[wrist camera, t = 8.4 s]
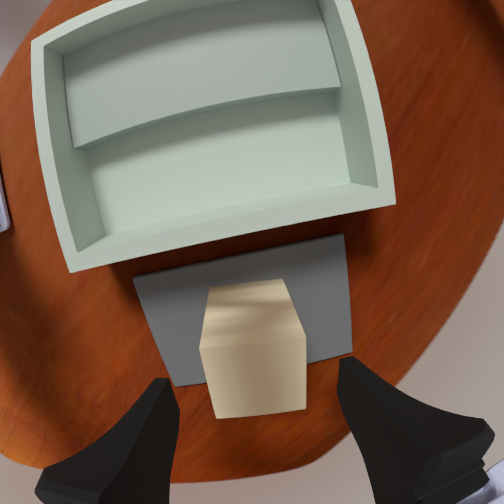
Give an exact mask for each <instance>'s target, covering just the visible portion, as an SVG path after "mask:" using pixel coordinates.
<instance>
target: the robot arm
mask: <svg viewBox="0 0 504 504" xmlns="http://www.w3.org/2000/svg"><path fill="white" fill-rule="evenodd" d="M0 225H1V227H0V232H3V231H5V230H7V229H9V227H10V219H9V215H8V211H7V206H6V202H5V197H4V192H3V187H2V182H1V176H0ZM337 395H338V399H339V402H340V405H341V409H342V412H343V414H344V416H345V418H346V421H347V423H348V425H349V427H350V429H351V431H352V434H353V436H354V438H355V440H356V442H357V444H358V446H359V449H360V451H361V453H362V456H363V459H364V462H365V465H366V469H367V472H368V476H369V479H370V483H371V486H372V490H373V494H374V499H375V503H376V504H504V459H502V460H501V461H499V462H498V463H496V464H495V465H493V466H492V467H491V468H490V469H488V470H487V471H486V472H485V471H484V469H483V468H482V467H484V465H485V463H484V461H483V460H482V457H483V456H484V454H485V453H486V451H487V450H488V449H489V447H490V445H491V443H492V442H493V440H494V436H495V433H494V431H493V430H492V429H491V428H490V426H489V425H488V424H487V423H486V421H485V420H484V419H481V418H474V417H468V416H462V415H458V414H454V413H450V412H447V411H444V410H440V409H437V408H435V407H432V406H429V405H427V404H425V403H423V402H420V401H418V400H416V399H414V398H412V397H410V396H408V395H407V394H405V393H403V392H401V391H400V390H398V389H397V388H395V387H393V386H392V385H390V384H389V383H387V382H386V381H385V380H383V379H382V378H381V377H379V376H378V375H377V374H375V373H374V372H373V371H371V370H370V369H369V368H368V367H366V366H365V365H364V364H363V363H361V362H360V361H359V360H357V359H356V358H355V357H354V356H351V357H346V358H341V359H340V362H339V375H338V386H337ZM179 418H180V409H179V407H178V404H177V401H176V398H175V395H174V392H173V389H172V386H171V383H170V380H169V378H155V379H154V380H153V381H152V383H151V384H150V385H149V386H148V388H147V389H146V390H145V391H144V393H143V394H142V395H141V396H140V398H139V399H138V400H137V401H136V402H135V404H134V405H133V406H132V407H131V408H130V409H129V411H128V412H127V413H126V414H125V415H124V416H123V417H122V418H121V419H120V420H119V421H118V422H117V423H116V424H115V425H114V426H113V427H112V428H111V429H110V430H109V431H108V432H106V433H105V434H104V435H103V436H102V437H100V438H99V439H98V440H96V441H95V442H93V443H92V444H91V445H89V446H88V447H86V448H85V449H83V450H82V451H80V452H78V453H77V454H75V455H73V456H71V457H69V458H67V459H65V460H63V461H61V462H58V463H56V464H54V465H51V466H49V467H46V468H44V470H43V472H42V474H41V477H40V479H39V481H38V484H37V486H36V488H35V494H36V496H37V497H38V498H39V499H40V500H41V501H42V502H43V503H44V504H169V491H170V475H171V469H172V463H173V458H174V453H175V448H176V442H177V437H178V432H179Z"/></svg>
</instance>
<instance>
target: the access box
mask: <svg viewBox="0 0 504 504" xmlns="http://www.w3.org/2000/svg"><path fill="white" fill-rule="evenodd" d="M31 77H32V96H33V109H34V119H35V127H36V135H37V142H38V149H39V155H40V161H41V167H42V172H43V177H44V182H45V187H46V191H47V196H48V200H49V204H50V208H51V212H52V216H53V220H54V223H55V227H56V231H57V234H58V238H59V241H60V244H61V247H62V251H63V254H64V257H65V260H66V263H67V266H68V269H69V272H70V273H72V272H76V271H80V270H85V269H89V268H93V267H97V266H102V265H106V264H110V263H114V262H119V261H123V260H127V259H132V258H136V257H141V256H145V255H149V254H154V253H158V252H163V251H167V250H172V249H176V248H181V247H185V246H190V245H195V244H199V243H204V242H208V241H213V240H218V239H222V238H227V237H232V236H237V235H241V234H246V233H251V232H256V231H261V230H265V229H270V228H275V227H280V226H285V225H290V224H295V223H300V222H305V221H310V220H315V219H320V218H325V217H330V216H335V215H341V214H346V213H351V212H356V211H361V210H367V209H372V208H377V207H383V206H388V205H394V204H396V199H395V189H394V181H393V173H392V165H391V158H390V152H389V145H388V139H387V134H386V128H385V123H384V118H383V113H382V108H381V103H380V99H379V94H378V90H377V86H376V82H375V78H374V74H373V70H372V66H371V62H370V59H369V55H368V52H367V48H366V45H365V42H364V39H363V35H362V32H361V29H360V26H359V23H358V20H357V17H356V14H355V12H354V9H353V6H352V3H351V1H350V0H113V1H110V2H108V3H105V4H103V5H100V6H98V7H96V8H93V9H91V10H89V11H87V12H85V13H82V14H80V15H78V16H76V17H74V18H72V19H70V20H68V21H66V22H64V23H62V24H60V25H59V26H57V27H55V28H53V29H51V30H49V31H48V32H46V33H44V34H42V35H41V36H39V37H37V38H36V39H34V40H32V41H31Z"/></svg>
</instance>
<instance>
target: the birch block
mask: <svg viewBox="0 0 504 504" xmlns="http://www.w3.org/2000/svg"><path fill="white" fill-rule="evenodd" d="M199 350H200V355H201V359H202V363H203V368H204V372H205V376H206V380H207V384H208V388H209V392H210V396H211V400H212V404H213V408H214V412H215V415H216V419H219V418H234V417H246V416H256V415H265V414H273V413H281V412H288V411H295V410H301V409H306V335H305V333H304V330H303V328H302V325H301V323H300V320H299V318H298V315H297V313H296V310H295V308H294V305H293V303H292V300H291V298H290V295H289V293H288V290H287V288H286V286H285V283H284V281H283V278H282V279H273V280H265V281H256V282H247V283H237V284H228V285H218V286H210V288H209V294H208V300H207V305H206V311H205V317H204V322H203V328H202V334H201V340H200V346H199Z"/></svg>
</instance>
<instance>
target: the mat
mask: <svg viewBox="0 0 504 504" xmlns="http://www.w3.org/2000/svg"><path fill="white" fill-rule="evenodd" d="M282 278H283V281H284V283H285V286H286V288H287V290H288V293H289V295H290V298H291V300H292V303H293V305H294V308H295V310H296V313H297V315H298V318H299V320H300V323H301V325H302V328H303V330H304V333H305V335H306V364H308V363H312V362H316V361H320V360H324V359H328V358H332V357H336V356H339V355H343V354H347V353H350V352H352V331H351V312H350V296H349V283H348V271H347V261H346V251H345V242H344V235H343V234H342V233H340V234H335V235H330V236H325V237H321V238H316V239H311V240H306V241H301V242H297V243H292V244H287V245H282V246H277V247H273V248H268V249H263V250H258V251H253V252H249V253H244V254H239V255H234V256H229V257H225V258H220V259H215V260H210V261H205V262H201V263H196V264H191V265H186V266H181V267H177V268H172V269H167V270H162V271H158V272H153V273H148V274H143V275H138V276H134V277H133V279H132V280H133V283H134V286H135V289H136V291H137V294H138V297H139V300H140V303H141V306H142V308H143V311H144V314H145V316H146V319H147V322H148V324H149V327H150V329H151V332H152V334H153V337H154V339H155V342H156V344H157V347H158V349H159V352H160V354H161V356H162V359H163V361H164V363H165V366H166V368H167V370H168V373H169V375H170V377H171V379H172V381H173V384H174V386H184V385H192V384H200V383H207V380H206V376H205V372H204V368H203V363H202V359H201V355H200V350H199V346H200V340H201V334H202V328H203V322H204V317H205V311H206V305H207V300H208V294H209V288H210V286H218V285H228V284H237V283H247V282H256V281H265V280H273V279H282Z"/></svg>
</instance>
